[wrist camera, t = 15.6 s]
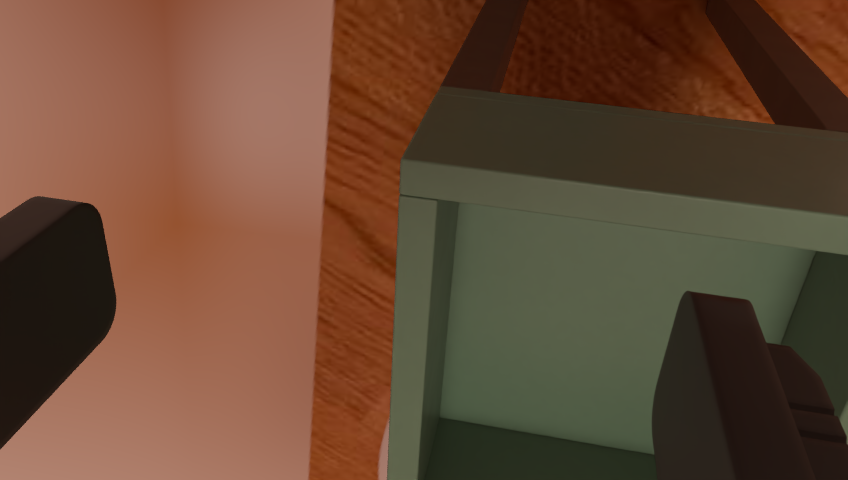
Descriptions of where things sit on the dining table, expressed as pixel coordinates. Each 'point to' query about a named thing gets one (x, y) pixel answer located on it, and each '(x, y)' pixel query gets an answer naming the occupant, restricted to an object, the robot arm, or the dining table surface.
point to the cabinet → (602, 255)
